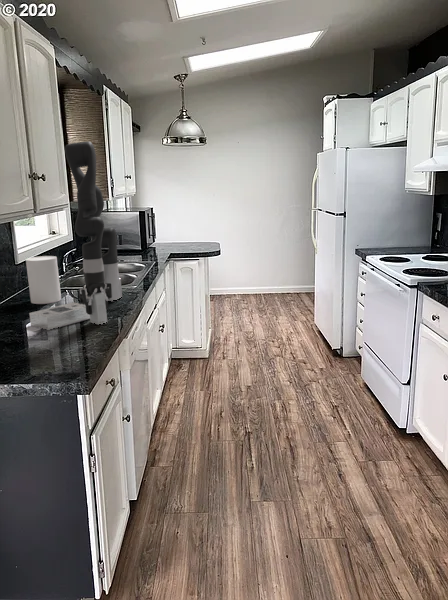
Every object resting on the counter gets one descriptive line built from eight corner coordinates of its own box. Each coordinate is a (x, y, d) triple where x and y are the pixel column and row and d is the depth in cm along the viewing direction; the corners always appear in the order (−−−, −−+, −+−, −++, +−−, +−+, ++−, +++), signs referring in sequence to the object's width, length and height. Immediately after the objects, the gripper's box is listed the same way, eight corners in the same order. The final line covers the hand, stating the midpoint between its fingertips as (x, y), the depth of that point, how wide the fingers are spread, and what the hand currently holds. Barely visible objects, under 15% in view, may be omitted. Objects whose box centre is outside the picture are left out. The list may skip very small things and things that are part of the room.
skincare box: (108, 322, 199) (105, 292, 196) (98, 325, 195) (95, 294, 192) (99, 320, 203) (96, 290, 200) (89, 322, 199) (86, 292, 197)
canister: (24, 303, 235) (19, 260, 230) (41, 296, 248) (36, 255, 243) (51, 304, 232) (46, 260, 227) (66, 297, 244) (62, 256, 240)
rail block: (74, 313, 213) (73, 302, 212) (92, 318, 206) (90, 305, 205) (30, 325, 198) (29, 312, 197) (48, 330, 191) (46, 317, 190)
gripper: (102, 266, 202) (106, 307, 206) (71, 272, 191) (76, 315, 195) (114, 268, 197) (118, 309, 201) (84, 274, 186) (88, 317, 190)
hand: (97, 312), depth 198 cm, fingers open, 7 cm apart
